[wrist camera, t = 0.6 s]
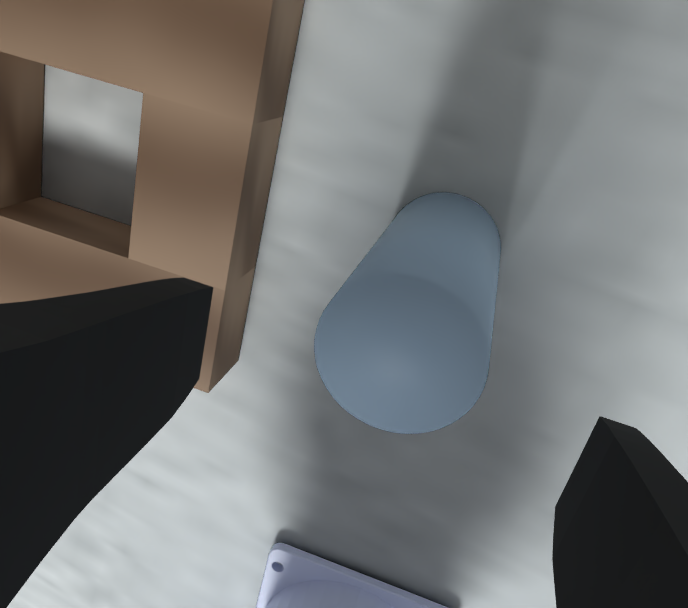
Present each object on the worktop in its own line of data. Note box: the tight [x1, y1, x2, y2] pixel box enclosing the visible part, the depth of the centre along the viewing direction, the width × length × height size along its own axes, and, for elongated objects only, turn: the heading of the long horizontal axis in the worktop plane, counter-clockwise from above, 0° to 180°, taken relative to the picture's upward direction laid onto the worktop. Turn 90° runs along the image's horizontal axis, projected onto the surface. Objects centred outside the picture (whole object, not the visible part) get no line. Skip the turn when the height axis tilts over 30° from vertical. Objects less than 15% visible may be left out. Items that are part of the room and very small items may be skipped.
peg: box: [314, 192, 501, 434], centre depth 16 cm, size 4×4×8 cm
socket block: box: [0, 0, 304, 393], centre depth 20 cm, size 13×12×2 cm
